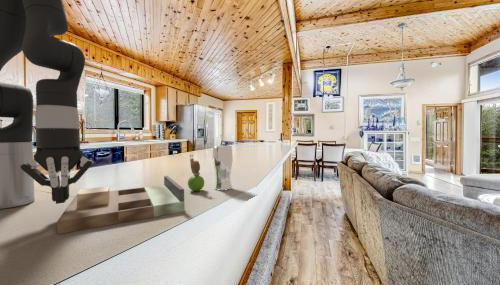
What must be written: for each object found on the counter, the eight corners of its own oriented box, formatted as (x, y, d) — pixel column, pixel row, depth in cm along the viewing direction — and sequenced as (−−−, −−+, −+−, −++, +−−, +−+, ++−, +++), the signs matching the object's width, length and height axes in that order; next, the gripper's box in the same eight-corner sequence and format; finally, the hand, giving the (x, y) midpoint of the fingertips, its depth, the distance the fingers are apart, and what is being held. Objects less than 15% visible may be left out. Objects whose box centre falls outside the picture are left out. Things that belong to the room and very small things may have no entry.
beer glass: (214, 191, 73) (213, 146, 73) (212, 186, 80) (211, 145, 80) (234, 189, 75) (234, 146, 75) (230, 185, 82) (230, 145, 81)
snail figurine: (198, 187, 79) (198, 154, 79) (207, 191, 74) (206, 155, 74) (184, 190, 75) (183, 155, 75) (192, 193, 71) (191, 156, 70)
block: (77, 207, 50) (76, 194, 50) (81, 201, 55) (80, 189, 55) (108, 203, 53) (108, 191, 53) (109, 197, 58) (109, 186, 58)
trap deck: (57, 234, 42) (56, 205, 42) (76, 204, 61) (75, 184, 61) (184, 211, 54) (184, 189, 54) (167, 192, 73) (167, 175, 73)
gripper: (10, 125, 43) (13, 212, 44) (92, 126, 50) (94, 202, 51) (24, 127, 50) (27, 203, 50) (95, 128, 57) (97, 194, 57)
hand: (61, 202), depth 51 cm, fingers closed
